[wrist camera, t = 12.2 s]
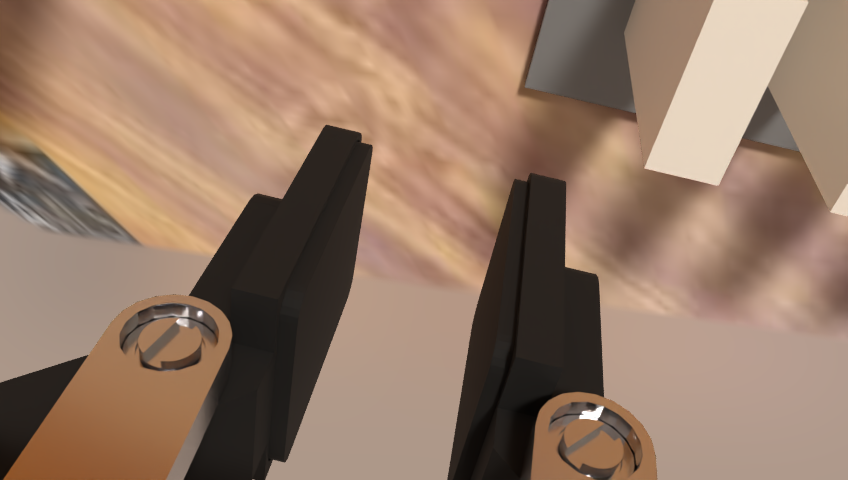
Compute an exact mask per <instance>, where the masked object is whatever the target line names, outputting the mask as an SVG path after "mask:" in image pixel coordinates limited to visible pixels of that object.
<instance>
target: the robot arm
mask: <svg viewBox="0 0 848 480" xmlns="http://www.w3.org/2000/svg"><path fill="white" fill-rule="evenodd" d="M361 139H362V135H361V133H359V132H355V131H351V130H346V129H342V128H338V127H334V126H330V125H325V127H324V128H323V130H322V131H321V133H320V135H319V137H318V138H317V140H316V142H315V144H314V145H313V147H312V149H311V151H310V152H309V154H308V156H307V158H306V159H305V161H304V163H303V165H302V166H301V168H300V170H299V171H298V173H297V175H296V177H295V178H294V180H293V182H292V184H291V185H290V187H289V189H288V191H287V192H286V194H285V196H284V198H283V199H279V198H275V197H270V196H266V195H262V194H255V195H254V196H253V197H252V198H251V199H250V201H249V202H248V204H247V205H246V207H245V208H244V210H243V211H242V213H241V215H240V216H239V218H238V219H237V221H236V222H235V224H234V226H233V227H232V229H231V230H230V232H229V233H228V235H227V237H226V238H225V240H224V241H223V243H222V244H221V246H220V247H219V249H218V251H217V252H216V254H215V255H214V257H213V258H212V260H211V262H210V263H209V265H208V266H207V268H206V269H205V271H204V273H203V274H202V276H201V277H200V279H199V280H198V282H197V283H196V285H195V287H194V288H193V290H192V291H191V293H190V294H189V296H184V295H176V294H175V295H174V294H173V295H163V296H155V297H152V298H148V299H145V300H142V301H139V302H136V303H135V304H133V305H131V306H130V307H128V308H126V309H124V310H123V311H122V312H121V313H120V314H119V315H118V316H117V317H116V318H115V319H114V320H113V321H112V322H111V323H110V325H109V326H108V328H107V329H106V330H105V332H104V333H103V335H102V336H101V338H100V339H99V341H98V342H97V344H96V345H95V347H94V348H93V350H92V351H91V352H90V354H89V355H87V356H83V357H80V358H77V359H74V360H71V361H67V362H64V363H61V364H58V365H55V366H52V367H48V368H45V369H42V370H39V371H36V372H33V373H29V374H26V375H23V376H20V377H17V378H13V379H10V380H7V381H4V382H1V383H0V480H252V479H255V480H265V478H266V476H267V473H268V471H269V468H270V466H271V463H272V460H277V461H281V462H286V460H287V459H288V456H289V454H290V451H291V448H292V446H293V443H294V440H295V438H296V435H297V432H298V430H299V427H300V424H301V422H302V419H303V416H304V413H305V411H306V408H307V405H308V403H309V400H310V398H311V395H312V392H313V389H314V387H315V384H316V382H317V379H318V376H319V373H320V371H321V368H322V365H323V362H324V360H325V357H326V355H327V352H328V349H329V347H330V344H331V341H332V339H333V336H334V333H335V331H336V328H337V325H338V323H339V320H340V317H341V315H342V312H343V309H344V307H345V304H346V301H347V298H348V295H349V292H350V288H351V284H352V280H353V274H354V267H355V261H356V254H357V248H358V241H359V235H360V228H361V222H362V215H363V209H364V202H365V196H366V189H367V183H368V177H369V170H370V164H371V157H372V148H373V147H372V145H369V144H365V143H361ZM565 226H566V182H565V181H562V180H558V179H554V178H549V177H545V176H541V175H537V174H533V173H530V175H529V177H528V180H527V182H526V181H521V180H517V179H515V180H514V182H513V185H512V188H511V192H510V195H509V199H508V202H507V205H506V209H505V212H504V216H503V219H502V222H501V226H500V229H499V233H498V236H497V239H496V243H495V246H494V250H493V253H492V256H491V260H490V263H489V267H488V270H487V273H486V277H485V280H484V284H483V287H482V290H481V294H480V297H479V301H478V304H477V308H476V311H475V315H474V320H473V324H472V330H471V337H470V342H469V348H468V355H467V361H466V368H465V374H464V380H463V386H462V392H461V398H460V405H459V411H458V417H457V423H456V429H455V436H454V442H453V448H452V454H451V461H450V467H449V473H448V480H657V468H656V455H655V452H654V448H653V443H652V440H651V438H650V436H649V435H648V433H647V431H646V430H645V428H644V426H643V425H642V424H641V423H640V422H639V421H638V420H637V419H636V418H635V417H634V416H633V415H632V414H631V413H630V412H629V411H627V410H626V409H624V408H623V407H622V406H620V405H618V404H617V403H615V402H614V401H612V400H609V399H606V398H604V388H603V366H602V341H601V320H600V319H601V318H600V295H599V280H598V277H597V275H596V274H592V273H588V272H584V271H580V270H575V269H571V268H567V267H565Z"/></svg>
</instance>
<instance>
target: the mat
mask: <svg viewBox="0 0 848 480" xmlns="http://www.w3.org/2000/svg"><path fill="white" fill-rule="evenodd" d="M634 3H635V0H548V2H547V6H546V9H545V13H544V17H543V20H542V24H541V27H540V31H539V35H538V38H537V42H536V45H535V49H534V52H533V56H532V60H531V63H530V67H529V70H528V74H527V78H526V81H525V87H526V88H530V89H534V90H538V91H543V92H547V93H551V94H556V95H560V96H564V97H568V98H573V99H577V100H581V101H586V102H590V103H594V104H598V105H603V106H607V107H611V108H615V109H620V110H624V111H628V112H633V113H636V110H635V103H634V96H633V90H632V83H631V76H630V69H629V63H628V56H627V49H626V43H625V36H624V31H625V29H626V26H627V23H628V20H629V17H630V14H631V11H632V9H633V6H634ZM742 138H744V139H748V140H752V141H757V142H761V143H765V144H769V145H774V146H778V147H782V148H787V149H791V150H795V151H799V152H800V150H799V148H798V146H797V144H796V142H795V140H794V138H793V136H792V134H791V132H790V130H789V128H788V126H787V124H786V122H785V120H784V118H783V116H782V114H781V112H780V110H779V108H778V106H777V104H776V102H775V100H774V98H773V96H772V94H771V92H770V90H769V88H768V86H767V88H766V90H765V92H764V94H763V96H762V98H761V100H760V102H759V104H758V106H757V108H756V110H755V112H754V114H753V116H752V118H751V120H750V122H749V124H748V126H747V128H746V130H745V132H744V135H743V137H742Z"/></svg>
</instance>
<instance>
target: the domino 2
mask: <svg viewBox="0 0 848 480" xmlns="http://www.w3.org/2000/svg"><path fill="white" fill-rule="evenodd" d="M807 1H808V2H809V3H808V5H807V7H806V9H805V11H804V13H803V15H802V17H801V19H800V21H799V23H798V25H797V27H796V29H795V31H794V33H793V35H792V37H791V39H790V41H789V43H788V45H787V47H786V49H785V51H784V53H783V55H782V57H781V59H780V61H779V63H778V65H777V68H776V70H775V72H774V74H773V76H772V78H771V80H770V82H769V84H768V88H769V90H770V92H771V94H772V96H773V98H774V100H775V102H776V104H777V106H778V108H779V110H780V112H781V114H782V116H783V118H784V120H785V122H786V124H787V126H788V128H789V130H790V132H791V134H792V136H793V138H794V140H795V142H796V144H797V146H798V148H799V150H800V152H801V154H802V156H803V159H804V161H805V163H806V165H807V167H808V169H809V171H810V173H811V175H812V177H813V179H814V181H815V183H816V185H817V187H818V189H819V191H820V193H821V195H822V197H823V199H824V201H825V203H826V205H827V207H828V209H829V211H830V212H831V213H836V214H840V215H844V216H848V0H807Z"/></svg>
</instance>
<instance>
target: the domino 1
mask: <svg viewBox="0 0 848 480" xmlns="http://www.w3.org/2000/svg"><path fill="white" fill-rule="evenodd" d="M808 3H809V2H808V1H807V0H635V3H634V6H633V9H632V11H631V14H630V17H629V20H628V23H627V26H626V29H625V31H624V36H625V43H626V49H627V56H628V63H629V69H630V76H631V83H632V90H633V96H634V103H635V110H636V117H637V123H638V130H639V137H640V144H641V150H642V157H643V164H644V168H645V169H649V170H653V171H657V172H662V173H666V174H670V175H674V176H679V177H683V178H687V179H691V180H696V181H700V182H704V183H708V184H713V185H717V186H718V185H719V183H720V181H721V179H722V177H723V175H724V173H725V171H726V169H727V167H728V165H729V163H730V161H731V159H732V157H733V155H734V153H735V151H736V149H737V147H738V145H739V143H740V141H741V139H742V137H743V135H744V132H745V130H746V128H747V126H748V124H749V122H750V120H751V118H752V116H753V114H754V112H755V110H756V108H757V106H758V104H759V102H760V100H761V98H762V96H763V94H764V92H765V90H766V88H767V86H768V84H769V82H770V80H771V78H772V76H773V74H774V72H775V70H776V68H777V65H778V63H779V61H780V59H781V57H782V55H783V53H784V51H785V49H786V47H787V45H788V43H789V41H790V39H791V37H792V35H793V33H794V31H795V29H796V27H797V25H798V23H799V21H800V19H801V17H802V15H803V13H804V11H805V9H806V7H807V5H808Z"/></svg>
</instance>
